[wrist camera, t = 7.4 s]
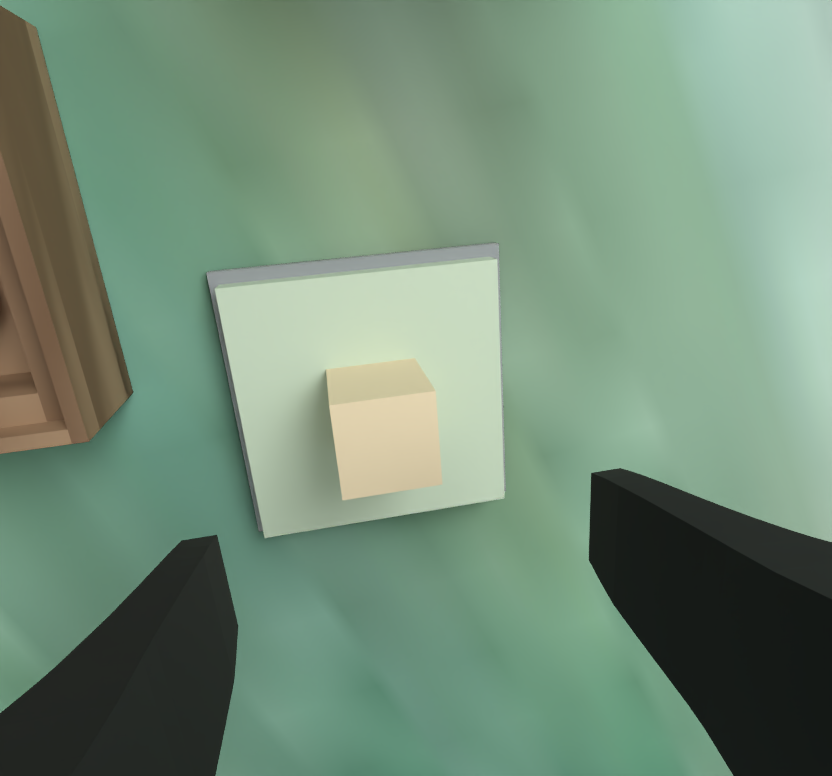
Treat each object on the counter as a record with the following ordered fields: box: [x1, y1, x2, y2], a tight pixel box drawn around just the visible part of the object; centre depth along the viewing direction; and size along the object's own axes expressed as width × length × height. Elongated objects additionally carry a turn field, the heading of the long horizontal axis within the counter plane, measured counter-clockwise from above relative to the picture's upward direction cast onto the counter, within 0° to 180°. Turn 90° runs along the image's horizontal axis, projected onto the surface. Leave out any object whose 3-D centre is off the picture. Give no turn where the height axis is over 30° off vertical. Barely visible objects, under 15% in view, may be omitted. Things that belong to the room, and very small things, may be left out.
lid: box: [215, 257, 504, 538], centre depth 17 cm, size 8×8×4 cm
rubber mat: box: [206, 243, 506, 532], centre depth 19 cm, size 9×9×1 cm
